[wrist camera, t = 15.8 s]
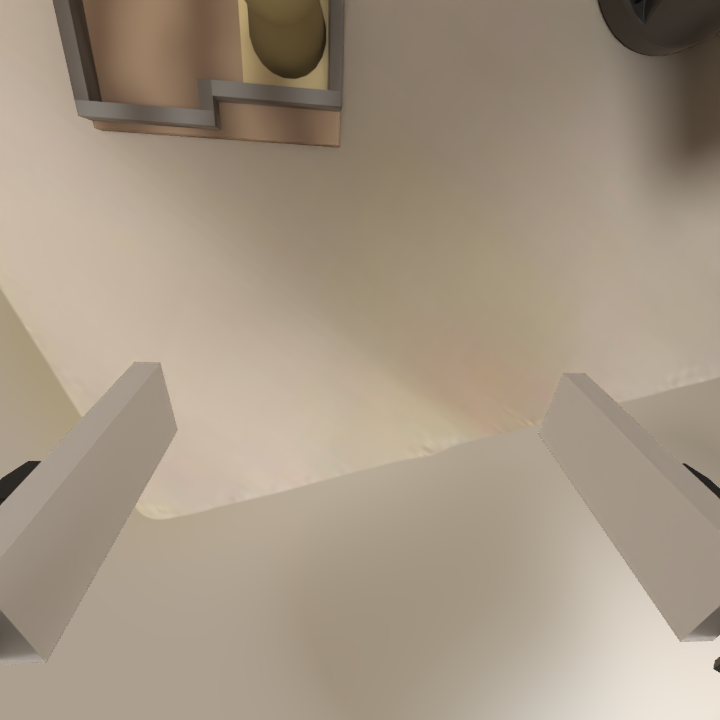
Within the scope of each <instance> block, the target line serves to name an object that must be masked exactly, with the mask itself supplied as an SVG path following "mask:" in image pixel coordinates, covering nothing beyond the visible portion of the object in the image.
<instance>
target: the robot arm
mask: <svg viewBox="0 0 720 720" xmlns="http://www.w3.org/2000/svg"><path fill="white" fill-rule="evenodd" d="M599 2H600V6H601V9H602V12H603V15H604V17H605V19H606V21H607V23H608V25H609V27H610V29H611V30H612V32H613V33H614V34H615V36H616V37H617V38H618V39H619V40H620V41H621V42H622V43H623V44H624V45H626V46H627V47H628V48H630V49H632V50H634V51H636V52H638V53H641V54H645V55H651V56H662V55H669V54H673V53H676V52H679V51H682V50H684V49H687V48H689V47H691V46H694V45H696V44H699V43H701V42H704V41H706V40H708V39H710V38H712V37H713V36H715V35H717V34H718V33H720V0H599ZM176 432H177V426H176V422H175V418H174V414H173V410H172V406H171V403H170V399H169V395H168V391H167V387H166V383H165V379H164V375H163V371H162V368H161V364H160V363H152V362H134V363H133V364H132V365H131V366H130V368H129V369H128V370H127V371H126V372H125V373H124V374H123V375H122V376H121V377H120V378H119V379H118V380H117V381H116V382H115V384H114V385H113V386H112V387H111V388H110V389H109V390H108V391H107V392H106V393H105V394H104V395H103V396H102V397H101V399H100V400H99V401H98V402H97V403H96V404H95V405H94V406H93V407H92V408H91V409H90V410H89V411H88V412H87V413H86V415H85V416H84V417H83V418H82V419H81V420H80V421H79V422H78V423H77V424H76V425H75V426H74V427H73V428H72V429H71V431H70V432H69V433H68V434H67V435H66V436H65V437H64V438H63V439H62V440H61V441H60V442H59V443H58V445H56V447H55V448H54V449H53V450H52V451H51V452H50V453H49V454H48V455H47V456H46V457H45V458H44V459H43V460H42V461H28V462H26V463H25V464H23V465H22V466H20V467H19V468H17V469H15V470H14V471H12V472H11V473H9V474H8V475H6V476H5V477H3V478H2V479H1V480H0V660H1V661H2V662H3V663H4V664H16V663H46V662H47V661H48V659H49V657H50V655H51V653H52V652H53V650H54V648H55V646H56V645H57V643H58V641H59V639H60V638H61V636H62V634H63V632H64V630H65V629H66V627H67V625H68V623H69V621H70V620H71V618H72V616H73V614H74V613H75V611H76V609H77V607H78V606H79V604H80V602H81V600H82V598H83V597H84V595H85V593H86V592H87V590H88V588H89V586H90V584H91V582H92V581H93V579H94V577H95V576H96V574H97V572H98V570H99V568H100V567H101V565H102V563H103V561H104V560H105V558H106V556H107V554H108V552H109V551H110V549H111V547H112V545H113V543H114V542H115V540H116V538H117V537H118V535H119V533H120V531H121V529H122V528H123V526H124V524H125V522H126V520H127V519H128V517H129V515H130V514H131V512H132V510H133V508H134V506H135V505H136V503H137V501H138V499H139V498H140V496H141V494H142V492H143V491H144V489H145V487H146V485H147V483H148V482H149V480H150V478H151V476H152V475H153V473H154V471H155V469H156V467H157V466H158V464H159V462H160V460H161V459H162V457H163V455H164V453H165V452H166V450H167V448H168V446H169V444H170V443H171V441H172V439H173V437H174V436H175V434H176ZM538 435H539V436H540V438H541V439H542V441H543V442H544V443H545V445H546V446H547V448H548V449H549V451H550V452H551V454H552V455H553V457H554V458H555V459H556V461H557V463H558V464H559V465H560V467H561V468H562V470H563V471H564V473H565V474H566V476H567V477H568V479H569V480H570V482H571V483H572V484H573V486H574V487H575V489H576V490H577V492H578V493H579V495H580V496H581V497H582V499H583V500H584V502H585V503H586V505H587V506H588V508H589V509H590V511H591V512H592V513H593V515H594V517H595V518H596V519H597V521H598V522H599V524H600V525H601V527H602V528H603V530H604V531H605V533H606V534H607V536H608V537H609V538H610V540H611V541H612V543H613V544H614V546H615V547H616V548H617V550H618V552H619V553H620V554H621V556H622V557H623V559H624V560H625V562H626V563H627V565H628V566H629V568H630V569H631V570H632V572H633V573H634V575H635V576H636V578H637V579H638V581H639V582H640V584H641V585H642V586H643V588H644V589H645V591H646V592H647V594H648V595H649V597H650V598H651V600H652V601H653V603H654V604H655V606H656V607H657V608H658V610H659V611H660V613H661V614H662V616H663V617H664V619H665V620H666V622H667V623H668V625H669V626H670V627H671V629H672V630H673V632H674V633H675V635H676V636H677V638H678V639H679V641H680V642H690V641H713V640H714V639H715V638H717V637H718V636H719V635H720V488H719V487H717V486H716V485H715V484H714V483H713V482H712V481H711V480H710V479H708V478H707V477H705V476H704V475H702V474H701V473H699V472H698V471H696V470H694V469H693V468H691V467H690V466H688V465H686V464H682V463H681V462H680V461H679V460H678V459H676V458H675V457H674V456H673V455H672V454H671V453H670V452H669V451H668V450H667V449H666V448H665V447H664V446H663V445H661V444H660V443H659V442H658V441H657V440H656V439H655V438H654V437H653V436H652V435H651V434H650V433H649V432H648V431H646V430H645V429H644V428H643V427H642V426H641V425H640V424H639V423H638V422H637V421H636V420H635V419H634V418H632V417H631V416H630V415H629V414H628V413H627V412H626V411H625V410H624V409H623V408H622V407H621V406H620V405H619V404H617V403H616V402H615V401H614V400H613V399H612V398H611V397H610V396H609V395H608V394H607V393H606V392H605V391H604V390H602V389H601V388H600V387H599V386H598V385H597V384H596V383H595V382H594V381H593V380H592V379H591V378H590V377H589V376H587V375H586V374H585V373H563V375H562V377H561V379H560V382H559V384H558V387H557V389H556V392H555V394H554V397H553V399H552V401H551V404H550V406H549V409H548V411H547V414H546V416H545V419H544V421H543V424H542V426H541V428H540V431H539V433H538ZM714 669H715V670H716V671H718V672H720V657H719V658H718V659H717V660H715V664H714Z"/></svg>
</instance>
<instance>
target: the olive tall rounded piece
mask: <svg viewBox="0 0 720 720" xmlns="http://www.w3.org/2000/svg"><path fill="white" fill-rule="evenodd" d="M245 2H246V3H247V9H248V23H249V36H250V39H251V42H252V46H253V49H254V51H255V53H256V55H257V56H258V58H259V59H260V61H261V63H262V64H263V65H264V66H265V67H266V68H268V69H269V70H270V71H271V72H272V73H274V74H276V75H278V76H280V77H282V78H288V79H297V78H300V77H304V76H307V75H308V74H309V73H310V72H311V71H313V70H314V69H315V68H316V67H317V65H318V64H319V62H320V60H321V59H322V57H323V53H324V50H325V46H326V25H325V21H324V16H323V12H322V8H321V3H320V0H245Z"/></svg>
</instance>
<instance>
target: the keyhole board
mask: <svg viewBox="0 0 720 720" xmlns="http://www.w3.org/2000/svg"><path fill="white" fill-rule="evenodd" d="M320 3H321V8H322V12H323V16H324V21H325V25H326V46H325V50H324V53H323V57H322V59H321V60H320V62H319V64H318V65H317V67H316V68H315V69H314V70H313V71H311V72H310V73H309V74H308V75H307V76H304V77H300V78H297V79H288V78H282V77H280V76H278V75H276V74H274V73H272V72H271V71H270V70H269V69H268V68H266V67H265V66H264V65H263V64H262V63H261V61H260V59H259V58H258V56H257V55H256V53H255V51H254V49H253V46H252V42H251V39H250V36H249V23H248V9H247V3H246V2H245V0H53V4H54V8H55V13H56V17H57V22H58V27H59V31H60V36H61V40H62V45H63V49H64V54H65V58H66V63H67V67H68V72H69V76H70V81H71V85H72V90H73V94H74V99H75V104H76V108H77V113H78V116H81V117H84V118H87V119H89V120H92V121H93V124H94V128H96V129H99V130H104V131H118V132H132V133H146V134H160V135H174V136H188V137H202V138H216V139H230V140H244V141H258V142H272V143H286V144H300V145H314V146H328V147H339V138H340V110H341V107H342V72H343V30H344V0H320Z"/></svg>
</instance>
